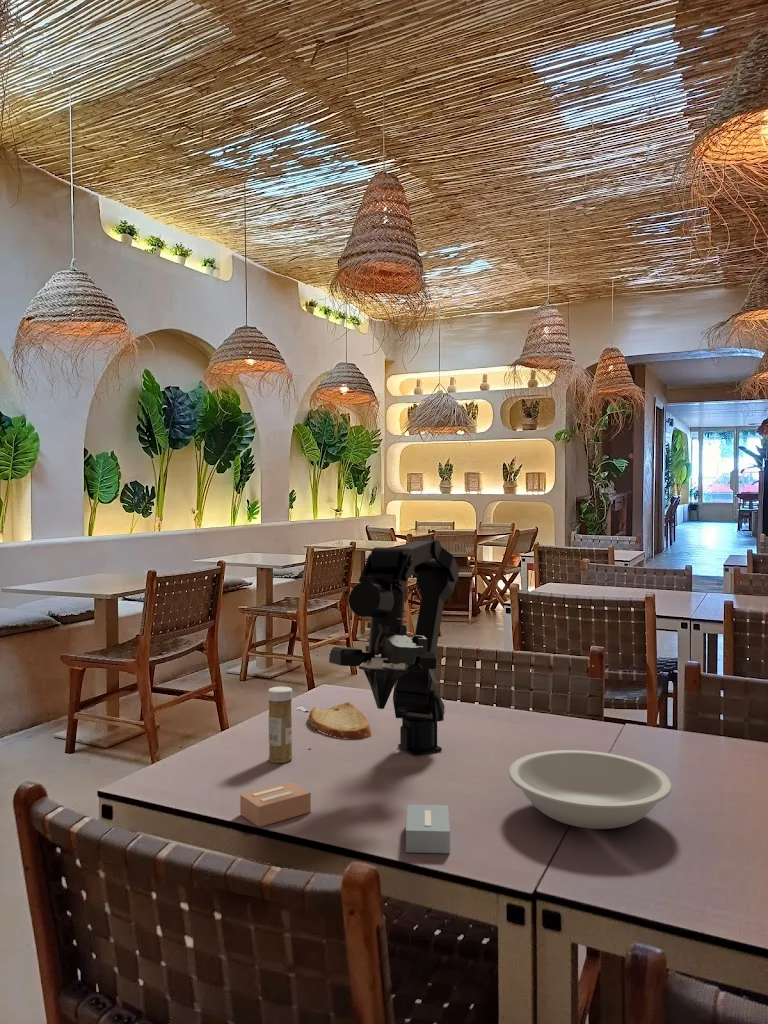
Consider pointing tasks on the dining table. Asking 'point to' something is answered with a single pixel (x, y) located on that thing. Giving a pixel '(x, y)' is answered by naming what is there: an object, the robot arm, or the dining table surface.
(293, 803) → the cardboard box
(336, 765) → the dining table surface
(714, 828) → the dining table surface
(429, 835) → the grey-blue block
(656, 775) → the soup bowl
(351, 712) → the slice of bread
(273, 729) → the sprinkles bottle
